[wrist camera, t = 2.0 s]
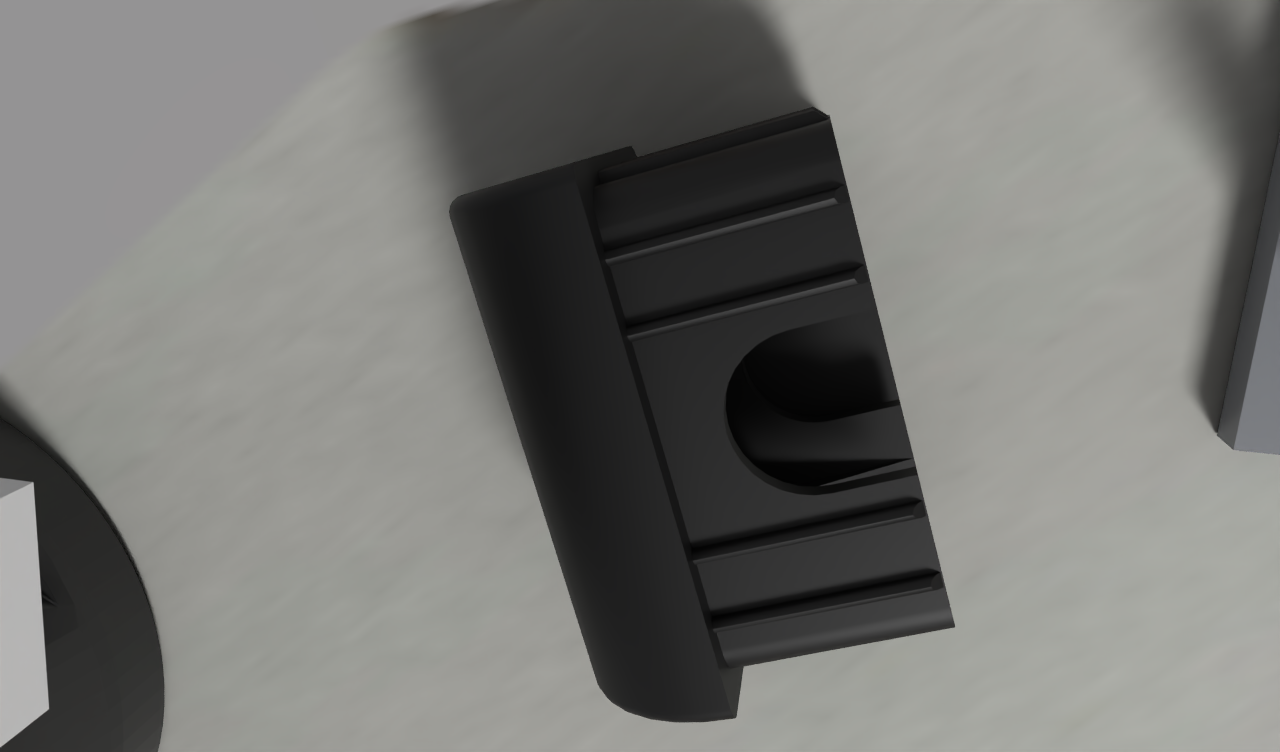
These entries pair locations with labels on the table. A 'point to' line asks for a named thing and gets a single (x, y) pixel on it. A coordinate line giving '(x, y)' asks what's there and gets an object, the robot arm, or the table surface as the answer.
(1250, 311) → the tray
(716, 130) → the table surface
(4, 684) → the robot arm
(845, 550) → the end cap
